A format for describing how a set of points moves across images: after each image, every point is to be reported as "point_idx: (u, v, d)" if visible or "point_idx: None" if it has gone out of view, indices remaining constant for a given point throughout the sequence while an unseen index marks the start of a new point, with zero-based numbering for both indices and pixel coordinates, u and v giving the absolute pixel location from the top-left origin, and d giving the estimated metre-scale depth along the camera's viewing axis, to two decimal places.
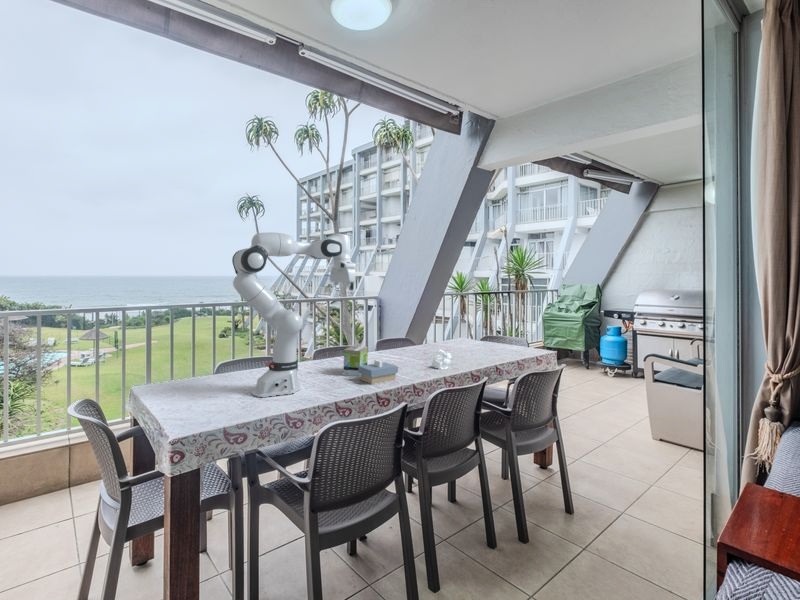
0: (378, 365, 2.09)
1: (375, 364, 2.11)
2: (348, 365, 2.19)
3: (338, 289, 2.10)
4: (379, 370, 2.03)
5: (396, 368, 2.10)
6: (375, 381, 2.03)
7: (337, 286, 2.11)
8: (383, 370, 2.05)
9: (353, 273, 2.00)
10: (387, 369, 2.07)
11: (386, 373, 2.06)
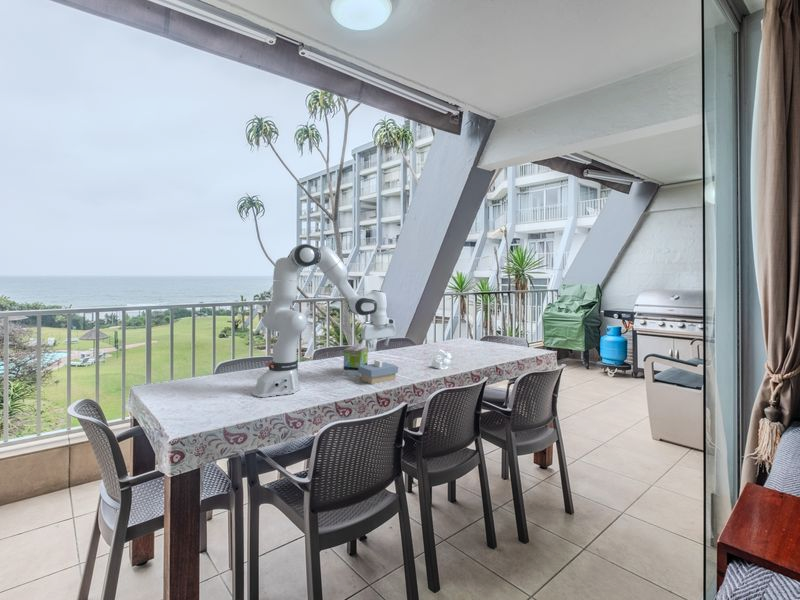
0: (378, 365, 2.09)
1: (375, 364, 2.11)
2: (348, 365, 2.19)
3: None
4: (379, 370, 2.03)
5: (396, 368, 2.10)
6: (375, 381, 2.03)
7: None
8: (383, 370, 2.05)
9: None
10: (387, 369, 2.07)
11: (386, 373, 2.06)
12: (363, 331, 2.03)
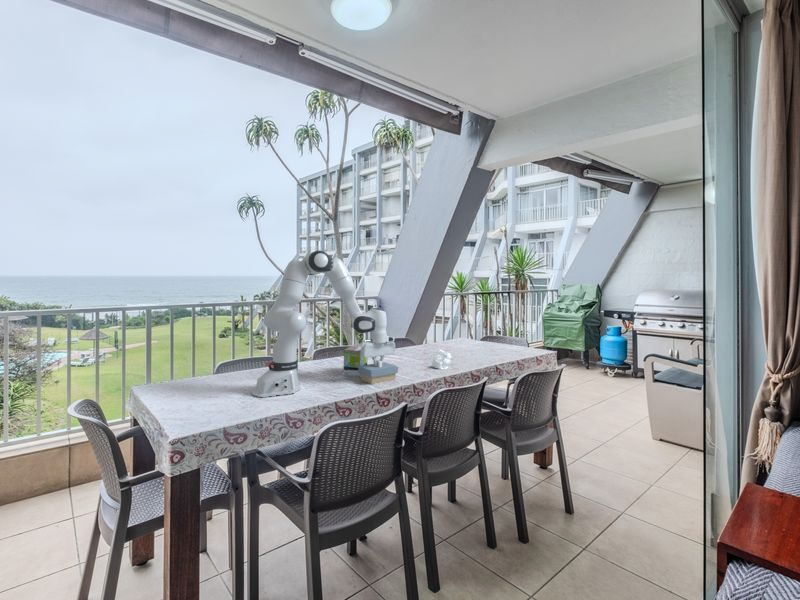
0: (378, 365, 2.09)
1: None
2: (348, 365, 2.19)
3: None
4: (379, 370, 2.03)
5: (396, 368, 2.10)
6: (375, 381, 2.03)
7: None
8: (383, 370, 2.05)
9: None
10: (387, 369, 2.07)
11: (386, 373, 2.06)
12: (363, 349, 2.04)
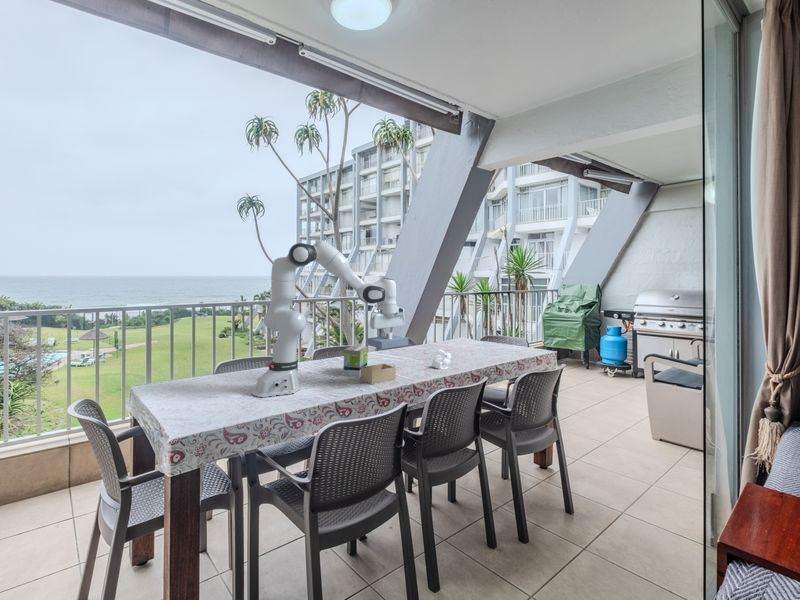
0: (388, 337, 2.02)
1: None
2: (348, 365, 2.19)
3: None
4: (389, 341, 1.96)
5: (406, 340, 2.03)
6: (375, 381, 2.03)
7: None
8: (393, 342, 1.98)
9: None
10: (397, 341, 1.99)
11: (396, 345, 1.99)
12: (372, 320, 1.96)
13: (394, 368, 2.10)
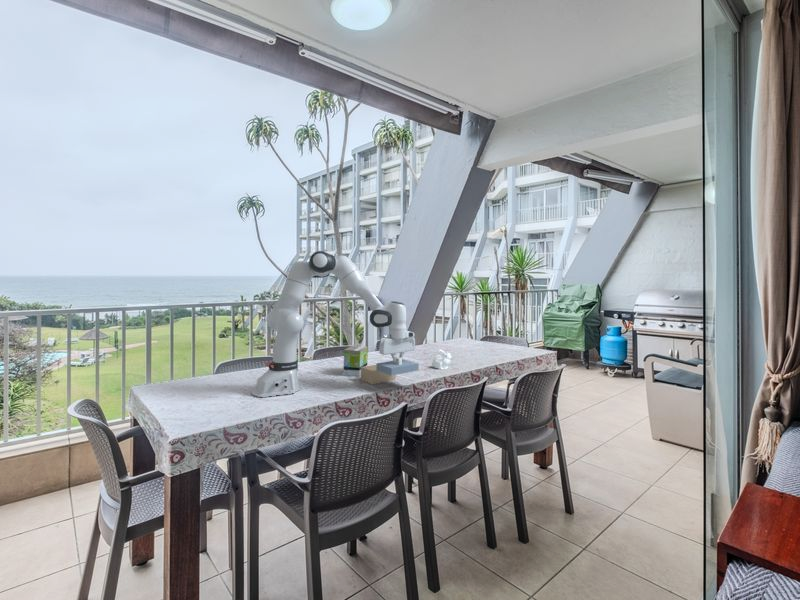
0: (398, 362, 1.96)
1: None
2: (348, 365, 2.19)
3: None
4: (399, 368, 1.90)
5: (417, 365, 1.97)
6: (375, 381, 2.03)
7: None
8: (403, 368, 1.92)
9: None
10: (407, 366, 1.93)
11: (406, 371, 1.93)
12: (382, 345, 1.90)
13: None
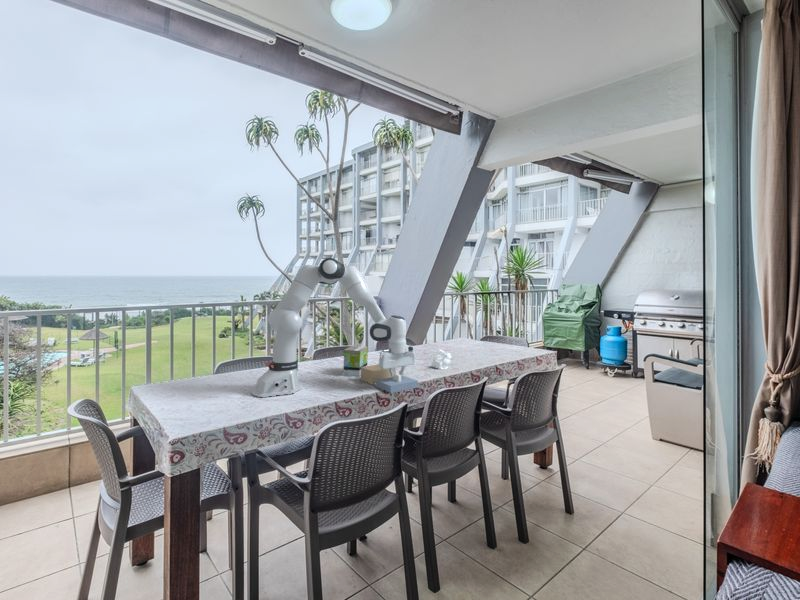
0: (397, 379, 1.96)
1: (393, 378, 1.98)
2: (348, 365, 2.19)
3: None
4: (398, 385, 1.90)
5: (416, 382, 1.97)
6: (375, 381, 2.03)
7: None
8: (403, 385, 1.92)
9: None
10: (407, 384, 1.93)
11: (406, 388, 1.93)
12: (381, 360, 1.90)
13: (394, 368, 2.10)
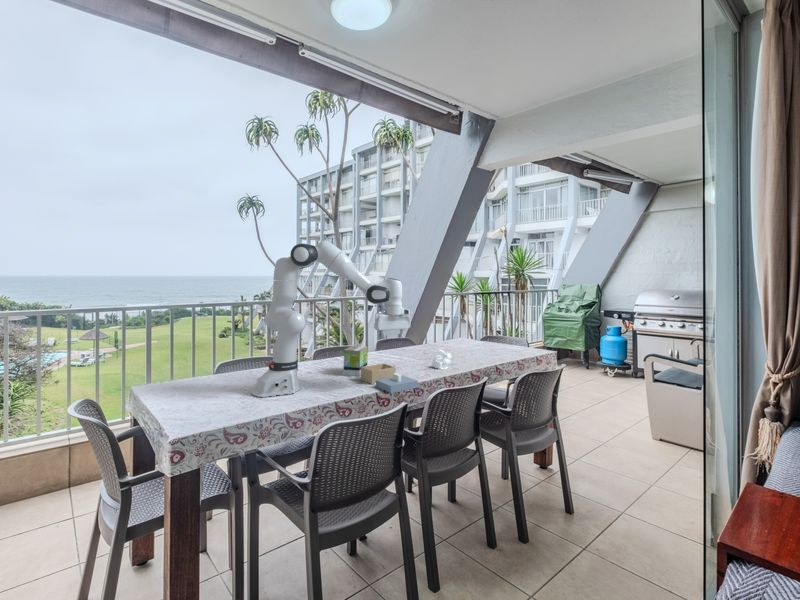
0: (397, 379, 1.96)
1: (393, 378, 1.98)
2: (348, 365, 2.19)
3: None
4: (398, 385, 1.90)
5: (416, 382, 1.97)
6: (375, 381, 2.03)
7: None
8: (403, 385, 1.92)
9: None
10: (407, 384, 1.93)
11: (406, 388, 1.93)
12: (377, 321, 1.90)
13: (394, 368, 2.10)
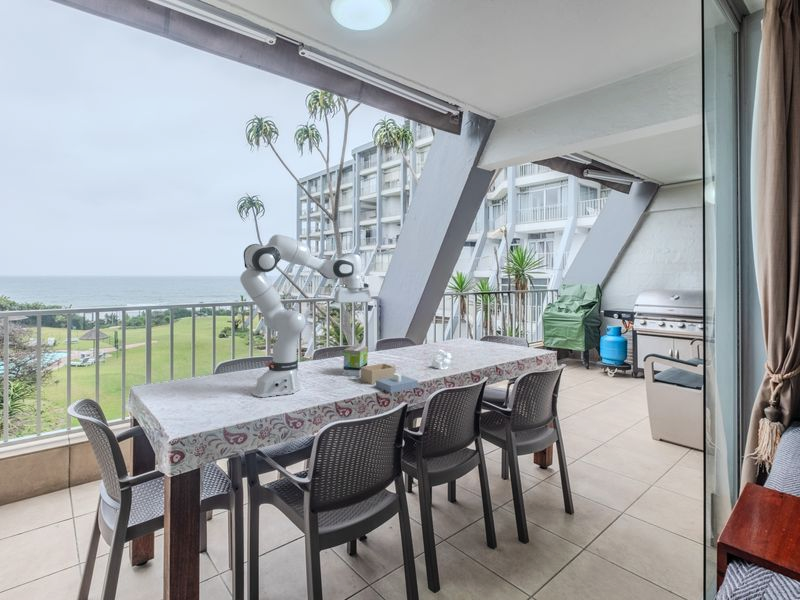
0: (397, 379, 1.96)
1: (393, 378, 1.98)
2: (348, 365, 2.19)
3: None
4: (398, 385, 1.90)
5: (416, 382, 1.97)
6: (375, 381, 2.03)
7: None
8: (403, 385, 1.92)
9: None
10: (407, 384, 1.93)
11: (406, 388, 1.93)
12: (337, 294, 2.00)
13: (394, 368, 2.10)
